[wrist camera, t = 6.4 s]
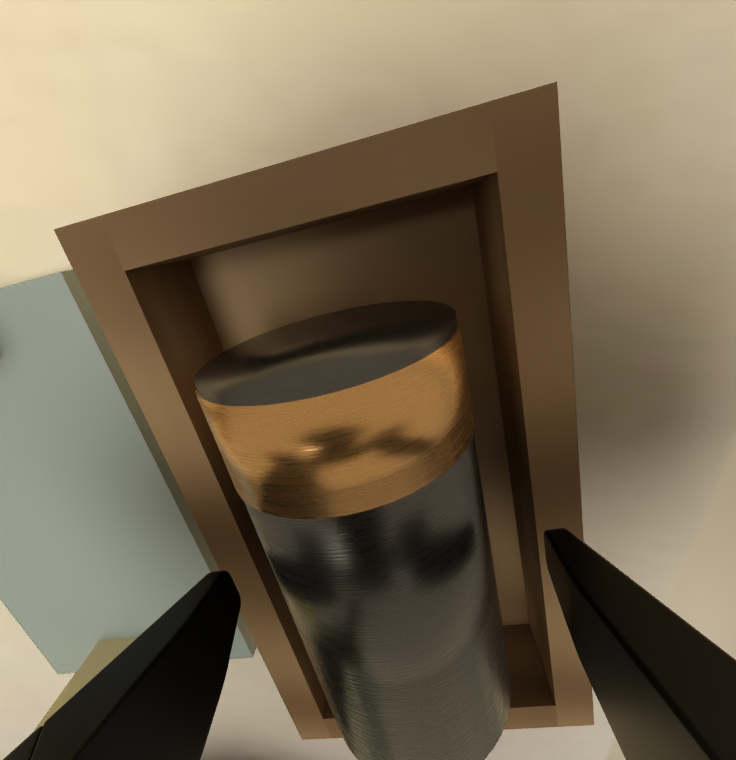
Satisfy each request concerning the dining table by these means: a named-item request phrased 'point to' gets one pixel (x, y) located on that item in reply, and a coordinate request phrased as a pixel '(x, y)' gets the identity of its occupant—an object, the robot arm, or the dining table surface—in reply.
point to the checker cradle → (84, 491)
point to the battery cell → (373, 519)
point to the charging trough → (360, 288)
